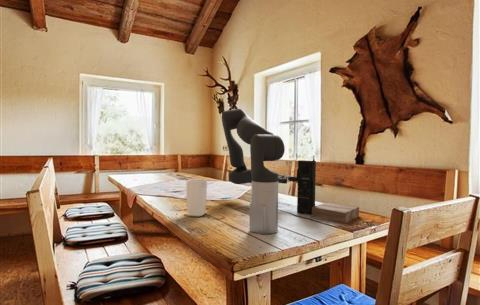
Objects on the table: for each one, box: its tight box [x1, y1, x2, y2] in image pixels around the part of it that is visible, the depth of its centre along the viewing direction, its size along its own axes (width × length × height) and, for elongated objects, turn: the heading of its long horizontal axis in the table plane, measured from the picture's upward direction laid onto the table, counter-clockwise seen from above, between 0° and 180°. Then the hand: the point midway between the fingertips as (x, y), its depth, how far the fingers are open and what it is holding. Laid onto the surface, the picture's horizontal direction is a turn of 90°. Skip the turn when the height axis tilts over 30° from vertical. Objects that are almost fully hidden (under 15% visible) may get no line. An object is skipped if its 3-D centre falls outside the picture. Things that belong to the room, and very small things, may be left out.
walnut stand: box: [311, 201, 360, 224], centre depth 123 cm, size 14×14×4 cm
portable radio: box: [295, 155, 317, 215], centre depth 130 cm, size 8×6×25 cm
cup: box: [185, 178, 208, 218], centre depth 123 cm, size 7×7×15 cm
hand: (291, 180), depth 134 cm, fingers open, 8 cm apart
